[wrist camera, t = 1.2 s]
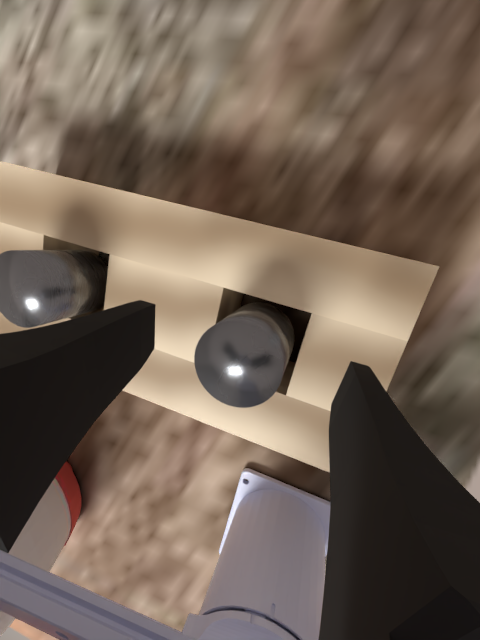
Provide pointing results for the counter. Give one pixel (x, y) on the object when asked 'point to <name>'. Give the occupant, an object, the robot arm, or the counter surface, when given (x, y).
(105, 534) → the counter surface
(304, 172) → the counter surface
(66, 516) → the citrus juicer
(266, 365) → the steel peg
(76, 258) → the steel peg
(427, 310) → the counter surface
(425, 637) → the robot arm
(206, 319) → the maple peg block
